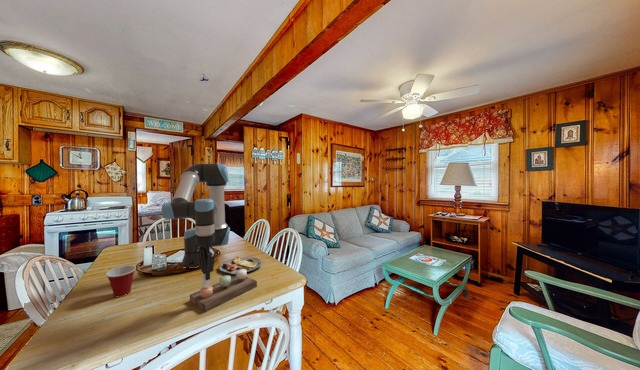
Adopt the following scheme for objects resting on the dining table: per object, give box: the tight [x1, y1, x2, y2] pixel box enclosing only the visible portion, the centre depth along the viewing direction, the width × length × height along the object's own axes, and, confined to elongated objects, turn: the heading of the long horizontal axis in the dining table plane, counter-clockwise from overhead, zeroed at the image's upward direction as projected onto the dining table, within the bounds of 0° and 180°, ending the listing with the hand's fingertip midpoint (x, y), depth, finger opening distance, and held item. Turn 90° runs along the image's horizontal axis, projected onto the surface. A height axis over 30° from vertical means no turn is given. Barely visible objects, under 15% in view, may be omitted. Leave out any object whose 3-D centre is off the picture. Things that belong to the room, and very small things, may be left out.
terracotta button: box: [199, 285, 213, 298], centre depth 99 cm, size 5×5×3 cm
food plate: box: [218, 256, 263, 275], centre depth 137 cm, size 25×23×4 cm
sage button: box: [219, 274, 232, 286], centre depth 106 cm, size 5×5×3 cm
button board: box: [189, 275, 258, 313], centre depth 106 cm, size 14×26×3 cm, turn 144°
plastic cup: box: [105, 264, 137, 297], centre depth 106 cm, size 11×11×12 cm
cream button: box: [235, 269, 248, 279], centre depth 113 cm, size 5×5×3 cm
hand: (206, 286), depth 99 cm, fingers closed
